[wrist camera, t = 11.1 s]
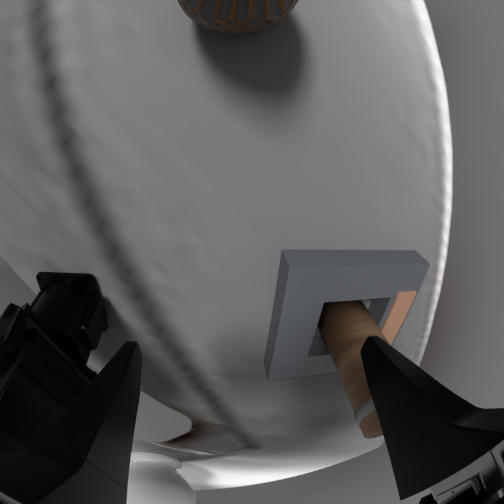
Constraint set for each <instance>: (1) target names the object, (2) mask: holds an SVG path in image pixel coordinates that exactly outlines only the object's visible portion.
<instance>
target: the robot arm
mask: <svg viewBox="0 0 504 504" xmlns="http://www.w3.org/2000/svg"><path fill="white" fill-rule="evenodd" d="M36 279H37V282H38V285H39V287H40V290H41V291H40V292H39V293H38V295H37V297H36V298H35V299H34V301H33V302H32V304H31V306H30V305H29V304H28V303H26V304H25V305H23V306H22V307H19V306H17V305H15V304H12V303H10V304H9V305H8V306H7V307H6V309H5V310H4V312H3V313H2V315H1V316H0V504H126V503H127V488H128V477H129V467H130V459H131V450H132V443H133V435H134V429H135V422H136V415H137V409H138V404H139V397H140V383H141V369H142V355H141V351H140V348H139V344H138V343H137V342H135V341H127V342H126V343H125V344H124V345H123V346H122V347H121V348H120V349H119V351H118V352H117V353H116V354H115V355H114V356H113V357H112V359H111V360H110V361H109V362H108V363H107V364H106V366H105V367H104V368H103V369H102V370H101V371H100V373H99V374H97V373H96V372H94V371H92V370H91V369H90V368H88V367H87V366H86V364H87V361H88V358H89V355H90V352H91V350H95V349H96V348H97V345H98V342H99V340H100V337H101V334H102V332H106V331H107V330H108V323H107V316H106V313H105V310H104V306H103V303H102V299H101V297H100V296H99V294H98V290H97V287H96V283H95V279H94V277H93V276H92V275H91V274H82V273H55V272H39V273H38V274H37V275H36ZM88 279H89V280H90V281H89V280H88ZM360 353H361V358H362V363H363V367H364V371H365V376H366V380H367V384H368V388H369V391H370V394H371V397H372V400H373V403H374V406H375V409H376V412H377V416H378V419H379V422H380V425H381V429H382V432H383V435H384V439H385V442H386V446H387V449H388V453H389V456H390V460H391V464H392V468H393V472H394V475H395V480H396V484H397V488H398V492H399V496H400V500H403V499H406V498H408V497H410V496H413V495H415V494H417V493H419V492H421V491H423V490H425V489H427V488H429V487H430V490H431V492H432V493H430V494H428V495H426V496H425V497H423V498H421V500H420V502H419V504H504V408H495V409H483V408H478V407H476V406H474V405H472V404H471V403H469V402H467V401H466V400H464V399H462V398H461V397H459V396H458V395H456V394H455V393H453V392H452V391H450V390H449V389H447V388H446V387H445V386H443V385H442V384H440V383H439V382H438V381H436V380H435V379H434V378H433V377H431V376H430V375H429V374H427V373H426V372H425V371H423V370H422V369H421V368H419V367H418V366H417V365H415V364H414V363H413V362H412V361H410V360H409V359H408V358H406V357H405V356H404V355H402V354H401V353H400V352H398V351H397V350H396V349H394V348H393V347H392V346H390V345H389V344H388V343H386V342H385V341H384V340H382V339H381V338H380V337H378V336H376V335H374V336H368V337H367V338H366V340H365V342H364V344H363V346H362V348H361V352H360Z"/></svg>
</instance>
